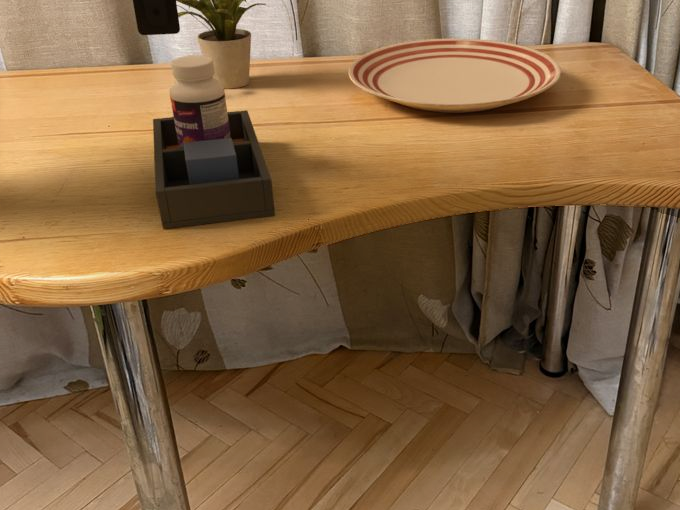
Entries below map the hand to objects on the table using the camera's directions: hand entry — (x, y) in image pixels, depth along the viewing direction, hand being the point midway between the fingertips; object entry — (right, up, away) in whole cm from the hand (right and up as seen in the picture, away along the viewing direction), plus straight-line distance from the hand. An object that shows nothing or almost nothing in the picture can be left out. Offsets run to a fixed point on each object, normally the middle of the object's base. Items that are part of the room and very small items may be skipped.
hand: (158, 19), depth 62 cm
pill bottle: (0, -8, +16) cm, 18 cm away
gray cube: (+3, -13, +9) cm, 16 cm away
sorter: (+1, -11, +13) cm, 17 cm away
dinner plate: (+28, +6, +36) cm, 46 cm away
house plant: (-2, +9, +40) cm, 42 cm away
